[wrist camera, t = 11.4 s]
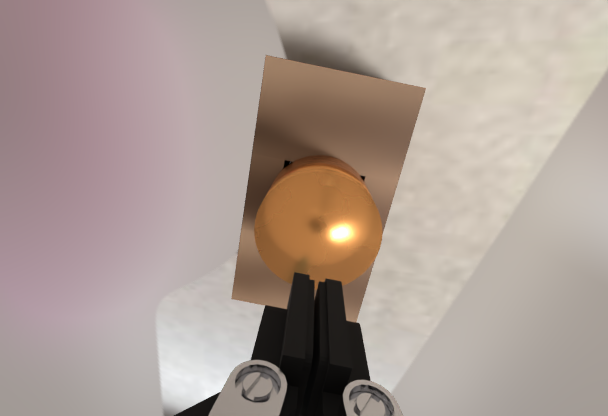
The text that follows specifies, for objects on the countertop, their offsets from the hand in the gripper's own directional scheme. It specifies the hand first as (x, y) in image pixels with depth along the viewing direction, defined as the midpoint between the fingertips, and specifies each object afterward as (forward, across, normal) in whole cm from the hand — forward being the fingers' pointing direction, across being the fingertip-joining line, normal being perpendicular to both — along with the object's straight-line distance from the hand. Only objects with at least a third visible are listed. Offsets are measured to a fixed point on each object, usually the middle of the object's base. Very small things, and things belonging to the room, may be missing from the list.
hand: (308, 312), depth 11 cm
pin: (+15, 0, -1) cm, 16 cm away
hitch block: (+16, 0, -1) cm, 16 cm away
